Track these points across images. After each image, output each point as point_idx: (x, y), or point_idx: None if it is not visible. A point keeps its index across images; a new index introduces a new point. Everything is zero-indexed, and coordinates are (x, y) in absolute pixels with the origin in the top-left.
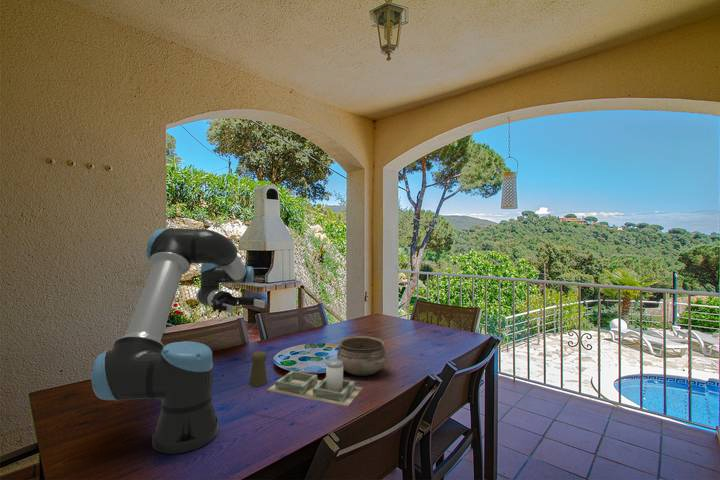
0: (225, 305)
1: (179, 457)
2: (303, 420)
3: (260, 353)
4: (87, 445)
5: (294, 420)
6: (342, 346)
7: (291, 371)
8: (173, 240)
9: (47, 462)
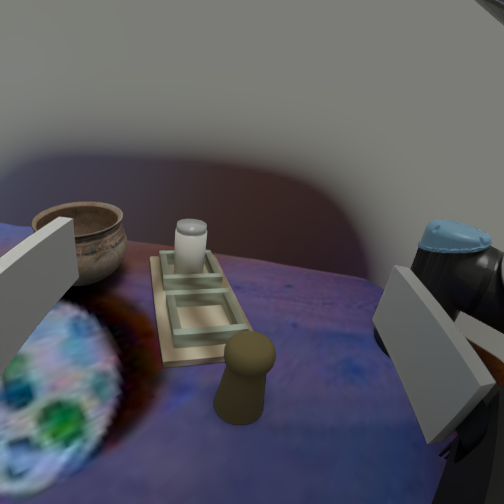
0: (456, 342)
1: None
2: (272, 281)
3: (254, 334)
4: None
5: (281, 287)
6: (105, 231)
7: (179, 333)
8: None
9: None
